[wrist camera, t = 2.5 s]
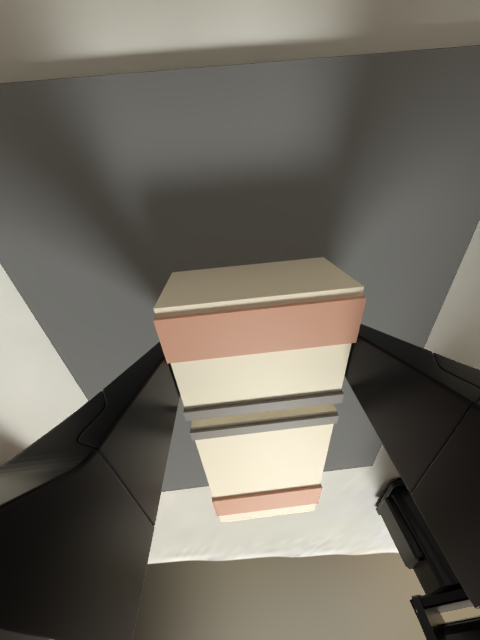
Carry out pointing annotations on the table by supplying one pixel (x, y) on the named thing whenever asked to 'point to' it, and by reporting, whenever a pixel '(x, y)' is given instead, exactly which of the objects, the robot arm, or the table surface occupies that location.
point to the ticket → (265, 460)
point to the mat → (238, 199)
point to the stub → (259, 335)
